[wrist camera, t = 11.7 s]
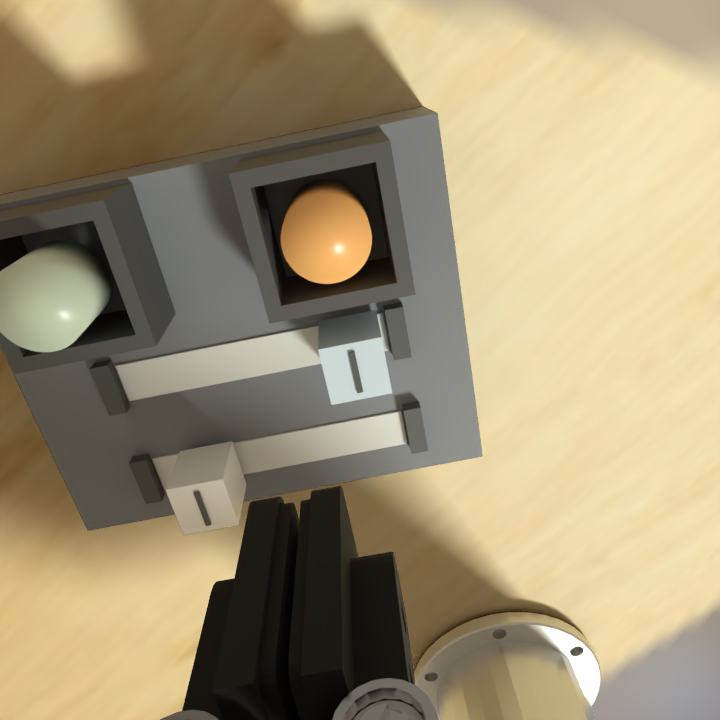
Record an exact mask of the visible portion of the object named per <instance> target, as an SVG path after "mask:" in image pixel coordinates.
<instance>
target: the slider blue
mask: <svg viewBox="0 0 720 720" xmlns="http://www.w3.org/2000/svg"><path fill="white" fill-rule="evenodd" d="M318 352H319V356H320V360H321V364H322V368H323V372H324V376H325V380H326V385H327V389H328V393H329V397H330V401H331V405H334V404H340V403H345V402H350V401H355V400H360V399H366V398H371V397H376V396H381V395H386V394H391V393H392V388H391V383H390V378H389V373H388V368H387V363H386V357H385V352H384V347H383V342H382V337H381V332H380V327H379V322H378V317H377V312H376V310H373V311H368V312H363V313H358V314H353V315H347V316H342V317H337V318H332V319H327V320H322V321H319V332H318Z"/></svg>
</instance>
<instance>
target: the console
mask: <svg viewBox="0 0 720 720" xmlns="http://www.w3.org/2000/svg"><path fill="white" fill-rule="evenodd" d="M322 179H329V180H335V181H339V182H341V183H344V184H346V185H347V186H349V187H350V188H352V189H353V190H354V191H355V192H356V193H357V194H358V196H359V197H360V198H361V200H362V202H363V204H364V206H365V209H366V213H367V217H368V221H369V224H370V228H371V233H372V246H371V251H370V254H369V257H368V259H367V261H366V262H365V264H364V265H363V267H362V268H361V269H360V270H359V271H358V272H357V273H356V274H355V275H353V276H352V277H350V278H348V279H347V280H344V281H342V282H338V283H333V284H320V283H315V282H312V281H309V280H307V279H305V278H303V277H302V276H300V275H299V274H297V273H296V272H295V271H294V270H293V269H292V268H291V266H290V265H289V264H288V262H287V261H286V259H285V257H284V254H283V251H282V247H281V230H282V226H283V222H284V218H285V214H286V211H287V207H288V204H289V202H290V200H291V198H292V197H293V196H294V194H295V193H296V192H297V191H298V190H299V189H300V188H302V187H303V186H304V185H306V184H308V183H310V182H313V181H316V180H322ZM55 240H67V241H72V242H76V243H79V244H81V245H83V246H85V247H87V248H89V249H90V250H92V251H93V252H94V253H95V254H97V255H98V256H99V257H100V259H101V260H102V261H103V262H104V264H105V265H106V267H107V269H108V271H109V274H110V277H111V282H112V293H111V297H110V300H109V302H108V304H107V306H106V307H105V308H104V309H103V311H102V312H101V313H100V314H99V315H98V316H97V317H96V318H95V320H94V321H93V322H92V323H91V324H90V325H89V326H88V327H87V328H86V330H85V331H84V332H83V333H82V334H81V335H80V336H79V337H78V338H77V340H76V341H75V342H74V343H72V344H71V345H70V346H68V347H66V348H64V349H62V350H59V351H55V352H36V351H31V350H28V349H25V348H22V347H20V346H18V345H16V344H14V343H13V342H11V341H10V340H9V339H7V338H6V337H5V336H4V335H3V334H2V333H1V332H0V347H1V349H2V351H3V353H4V355H5V357H6V359H7V361H8V364H9V366H10V368H11V370H12V372H13V374H14V376H15V378H16V380H17V383H18V385H19V387H20V389H21V391H22V393H23V395H24V397H25V399H26V401H27V404H28V406H29V408H30V410H31V412H32V414H33V416H34V418H35V420H36V423H37V425H38V427H39V429H40V431H41V433H42V435H43V437H44V439H45V442H46V444H47V446H48V448H49V450H50V452H51V454H52V456H53V458H54V460H55V463H56V465H57V467H58V469H59V471H60V473H61V475H62V477H63V479H64V482H65V484H66V486H67V488H68V490H69V492H70V494H71V496H72V498H73V501H74V503H75V505H76V507H77V509H78V511H79V513H80V515H81V517H82V519H83V522H84V524H85V526H86V528H87V530H94V529H99V528H104V527H110V526H115V525H120V524H126V523H131V522H136V521H142V520H147V519H152V518H157V517H163V516H168V515H173V514H175V513H174V510H173V508H172V505H171V503H170V500H169V498H168V495H167V492H166V487H167V485H168V482H169V479H170V477H171V474H172V471H173V469H174V466H175V463H176V461H177V458H178V455H179V453H180V451H183V450H188V449H194V448H199V447H204V446H209V445H215V444H220V443H225V442H230V441H232V442H233V445H234V448H235V451H236V454H237V457H238V460H239V463H240V466H241V469H242V472H243V475H244V478H245V481H246V490H245V495H244V500H243V501H248V500H253V499H258V498H264V497H269V496H274V495H280V494H285V493H290V492H296V491H301V490H306V489H312V488H317V487H322V486H328V485H333V484H338V483H344V482H349V481H354V480H359V479H365V478H370V477H375V476H381V475H386V474H391V473H397V472H402V471H407V470H413V469H418V468H423V467H429V466H434V465H439V464H445V463H450V462H455V461H460V460H466V459H471V458H476V457H482V456H483V455H482V447H481V440H480V432H479V425H478V417H477V409H476V402H475V394H474V387H473V379H472V371H471V364H470V356H469V349H468V341H467V333H466V326H465V318H464V311H463V303H462V295H461V288H460V280H459V273H458V265H457V258H456V250H455V242H454V235H453V227H452V220H451V212H450V204H449V197H448V189H447V182H446V174H445V166H444V159H443V151H442V144H441V136H440V128H439V121H438V113H436V112H434V111H432V110H430V109H428V108H426V107H418V108H413V109H408V110H403V111H399V112H394V113H389V114H384V115H380V116H375V117H370V118H365V119H360V120H356V121H351V122H346V123H341V124H337V125H332V126H327V127H322V128H317V129H313V130H308V131H303V132H298V133H294V134H289V135H284V136H279V137H274V138H270V139H265V140H260V141H255V142H251V143H246V144H241V145H236V146H231V147H227V148H222V149H217V150H212V151H208V152H203V153H198V154H193V155H188V156H184V157H179V158H174V159H169V160H165V161H160V162H155V163H150V164H145V165H141V166H136V167H131V168H126V169H122V170H117V171H112V172H107V173H102V174H98V175H93V176H88V177H83V178H79V179H74V180H69V181H64V182H59V183H55V184H50V185H45V186H40V187H36V188H31V189H26V190H21V191H16V192H12V193H7V194H2V195H0V271H2V270H3V269H5V268H6V267H8V266H10V265H11V264H13V263H14V262H16V261H17V260H19V259H20V258H22V257H23V256H25V255H27V254H28V253H30V252H31V251H33V250H34V249H36V248H37V247H39V246H41V245H42V244H44V243H47V242H50V241H55ZM373 310H376V312H377V317H378V322H379V327H380V332H381V337H382V342H383V347H384V352H385V357H386V363H387V368H388V373H389V378H390V383H391V388H392V393H391V394H386V395H381V396H376V397H371V398H366V399H360V400H355V401H350V402H345V403H340V404H334V405H331V401H330V397H329V393H328V389H327V385H326V380H325V376H324V372H323V368H322V364H321V360H320V356H319V352H318V332H319V321H322V320H327V319H332V318H337V317H342V316H347V315H353V314H358V313H363V312H368V311H373Z"/></svg>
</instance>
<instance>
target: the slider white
mask: <svg viewBox="0 0 720 720" xmlns="http://www.w3.org/2000/svg"><path fill="white" fill-rule="evenodd" d="M245 490H246V481H245V478H244V475H243V472H242V469H241V466H240V463H239V460H238V457H237V454H236V451H235V448H234V445H233V442H232V441H230V442H225V443H220V444H215V445H209V446H204V447H199V448H194V449H188V450H183V451H180V453H179V455H178V458H177V461H176V463H175V466H174V469H173V471H172V474H171V477H170V479H169V482H168V485H167V487H166V492H167V495H168V498H169V500H170V503H171V505H172V508H173V510H174V513H175V515H176V518H177V520H178V523H179V525H180V528H181V530H182V533H183V535H189V534H194V533H200V532H205V531H210V530H216V529H221V528H227V527H232V526H237V525H239V522H240V516H241V511H242V506H243V500H244V495H245Z"/></svg>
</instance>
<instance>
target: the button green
mask: <svg viewBox="0 0 720 720" xmlns="http://www.w3.org/2000/svg"><path fill="white" fill-rule="evenodd" d="M111 293H112V282H111V277H110V274H109V271H108V269H107V267H106V265H105V264H104V262H103V261H102V260H101V259H100V257H99V256H98V255H97V254H95V253H94V252H93V251H92V250H90V249H89V248H87V247H85V246H83V245H81V244H79V243H76V242H72V241H67V240H55V241H50V242H47V243H44V244H42V245H41V246H39V247H37V248H36V249H34V250H33V251H31V252H30V253H28V254H27V255H25V256H23V257H22V258H20V259H19V260H17V261H16V262H14V263H13V264H11V265H10V266H8V267H6V268H5V269H3V270H2V271H0V332H1V333H2V334H3V335H4V336H5V337H6V338H7V339H9V340H10V341H11V342H13V343H14V344H16V345H18V346H20V347H22V348H25V349H28V350H31V351H36V352H55V351H59V350H62V349H64V348H66V347H68V346H70V345H71V344H72V343H74V342H75V341H76V340H77V338H78V337H79V336H80V335H81V334H82V333H83V332H84V331H85V330H86V328H87V327H88V326H89V325H90V324H91V323H92V322H93V321H94V320H95V318H96V317H97V316H98V315H99V314H100V313H101V312H102V311H103V309H104V308H105V307H106V306H107V304H108V302H109V300H110V297H111Z"/></svg>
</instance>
